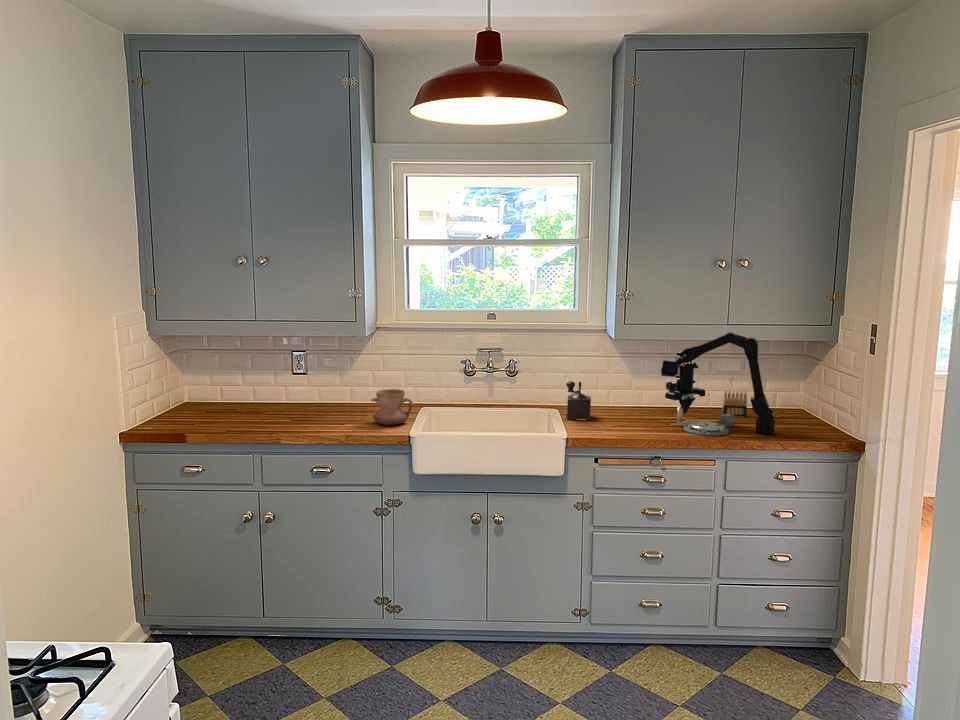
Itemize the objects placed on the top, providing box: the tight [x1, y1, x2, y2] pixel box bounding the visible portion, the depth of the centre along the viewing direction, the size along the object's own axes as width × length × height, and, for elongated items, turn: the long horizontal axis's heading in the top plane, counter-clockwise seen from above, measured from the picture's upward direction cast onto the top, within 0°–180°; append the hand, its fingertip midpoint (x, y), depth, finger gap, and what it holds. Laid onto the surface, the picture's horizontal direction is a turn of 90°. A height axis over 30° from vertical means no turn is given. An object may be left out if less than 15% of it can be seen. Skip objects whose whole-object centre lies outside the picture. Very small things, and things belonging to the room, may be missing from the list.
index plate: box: [683, 425, 730, 437], centre depth 289 cm, size 18×18×1 cm
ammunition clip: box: [721, 389, 748, 417], centre depth 317 cm, size 11×2×12 cm, turn 83°
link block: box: [718, 413, 735, 428], centre depth 298 cm, size 3×6×5 cm, turn 122°
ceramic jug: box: [370, 388, 414, 426], centre depth 299 cm, size 18×14×14 cm
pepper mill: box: [565, 380, 592, 420], centre depth 309 cm, size 16×11×18 cm
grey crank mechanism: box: [676, 406, 726, 432], centre depth 290 cm, size 20×15×7 cm
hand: (684, 413), depth 298 cm, fingers closed
